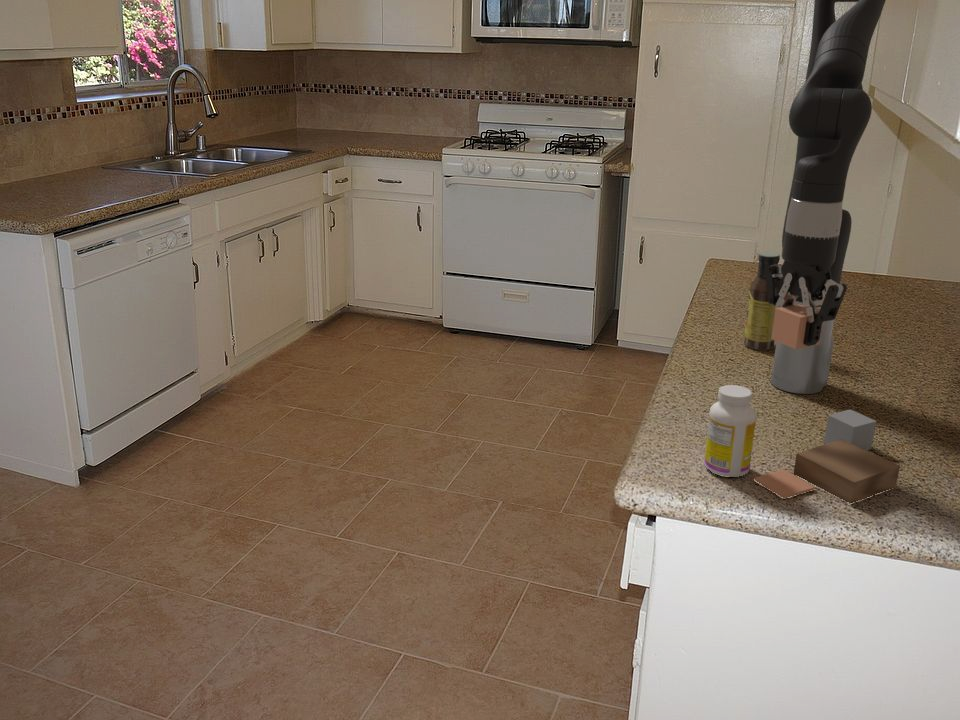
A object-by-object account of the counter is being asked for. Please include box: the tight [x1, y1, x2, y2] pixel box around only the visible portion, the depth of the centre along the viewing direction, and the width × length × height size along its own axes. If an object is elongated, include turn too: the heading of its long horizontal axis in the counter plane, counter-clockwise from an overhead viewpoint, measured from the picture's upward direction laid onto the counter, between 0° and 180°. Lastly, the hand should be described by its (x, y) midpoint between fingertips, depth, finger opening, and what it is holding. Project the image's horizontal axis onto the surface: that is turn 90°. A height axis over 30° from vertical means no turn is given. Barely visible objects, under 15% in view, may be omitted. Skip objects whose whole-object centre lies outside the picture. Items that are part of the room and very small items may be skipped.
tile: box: [753, 469, 816, 498], centre depth 127 cm, size 6×6×1 cm
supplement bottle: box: [703, 384, 757, 478], centre depth 129 cm, size 7×7×13 cm
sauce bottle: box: [743, 251, 781, 352], centre depth 179 cm, size 6×6×20 cm
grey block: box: [823, 409, 877, 451], centre depth 138 cm, size 5×5×5 cm
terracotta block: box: [771, 304, 823, 349], centre depth 133 cm, size 5×5×5 cm
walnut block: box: [793, 439, 901, 503], centre depth 128 cm, size 10×10×4 cm
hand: (795, 338), depth 134 cm, fingers closed on terracotta block, 5 cm apart
